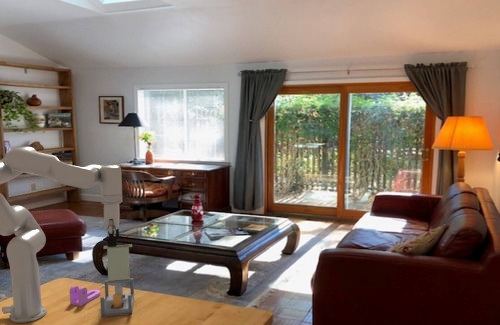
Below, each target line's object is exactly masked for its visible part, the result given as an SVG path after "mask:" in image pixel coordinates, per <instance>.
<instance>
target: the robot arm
mask: <svg viewBox="0 0 500 325" xmlns="http://www.w3.org/2000/svg"><path fill="white" fill-rule="evenodd" d="M22 174H28V175H32V176H37V177H42V178H46V179H49V180H51V181H53V182H56V183H58V184H61V185H64V186H70V187H75V188H78V189H88V188H91V187H93V186H95V185H97V184H100V197H101V198H100V201H101V204H102V205H103V229H104V231H107V236H106V239H107V246H108V247H116V246H117V245H118V244H117V243H118V241H117V240H119V239H120V232H119V231H120V228H119V225H120V219H121V218H120V204H121V203H123V183H122V181H123V180H122V167H121V166H120V165H114V164H110V165H99V164H87V165H85V166H83V167H82V166H76V165H72V164H68V163H65V162H63V161H61V160H59V158H58V157H57V156H55V155H53V154H47V153H43V152H39V151H37V150H36V149H35V148H34V147H32V146H21V147H16V148H12V149H10V150H9V151H8V152H7V153H6V155H5V157H4V158H2V159H0V185H2V184H6V183H8V182H10V181H12V180H13V179H15V178H17V177H19V176H20V175H22ZM13 234H14V235H15V237H13V238H12V239H10V241H9V242H8V243H7V246H6V257H7V259H8V263H9V264H8V265H9V269H10V278H11V279H10V280H11V290H12V304H11V305H9V306H8V305H6V306H5V305H4V306H2V307H1V312H2V313H3V314H4V315H5V314H6V315H7V314H9V320H10V322H13V323H17V324H18V323H19V324H23V323H24V324H25V323H29V322H34V321H37V320H39V319H42V317H44V316H45V315H46V314H47V308H46V307H45V306H44V305H43V304H42V291H41V278H40V277H41V276H40V267H39V266H40V265H39V262H38V260H37V253H38V252H40V251H41V250H42V249H43V248H44V247H45V245H46V241H47V238H46V234H45V233H44V231H43V230H42V228H41V226H40V225H39V224H38V222H37V220H36V219H35V217H34V216H33V214H32V213H31V212H30V211H29V209H27V208H26V207H24V206H22V205H17V204H16V205H15V204H14V205H10V203H9V202H8V200H7V199H6V197H5V196H4V195H3V193H1V192H0V235H1V236H3V237H6V236H11V235H13Z"/></svg>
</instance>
